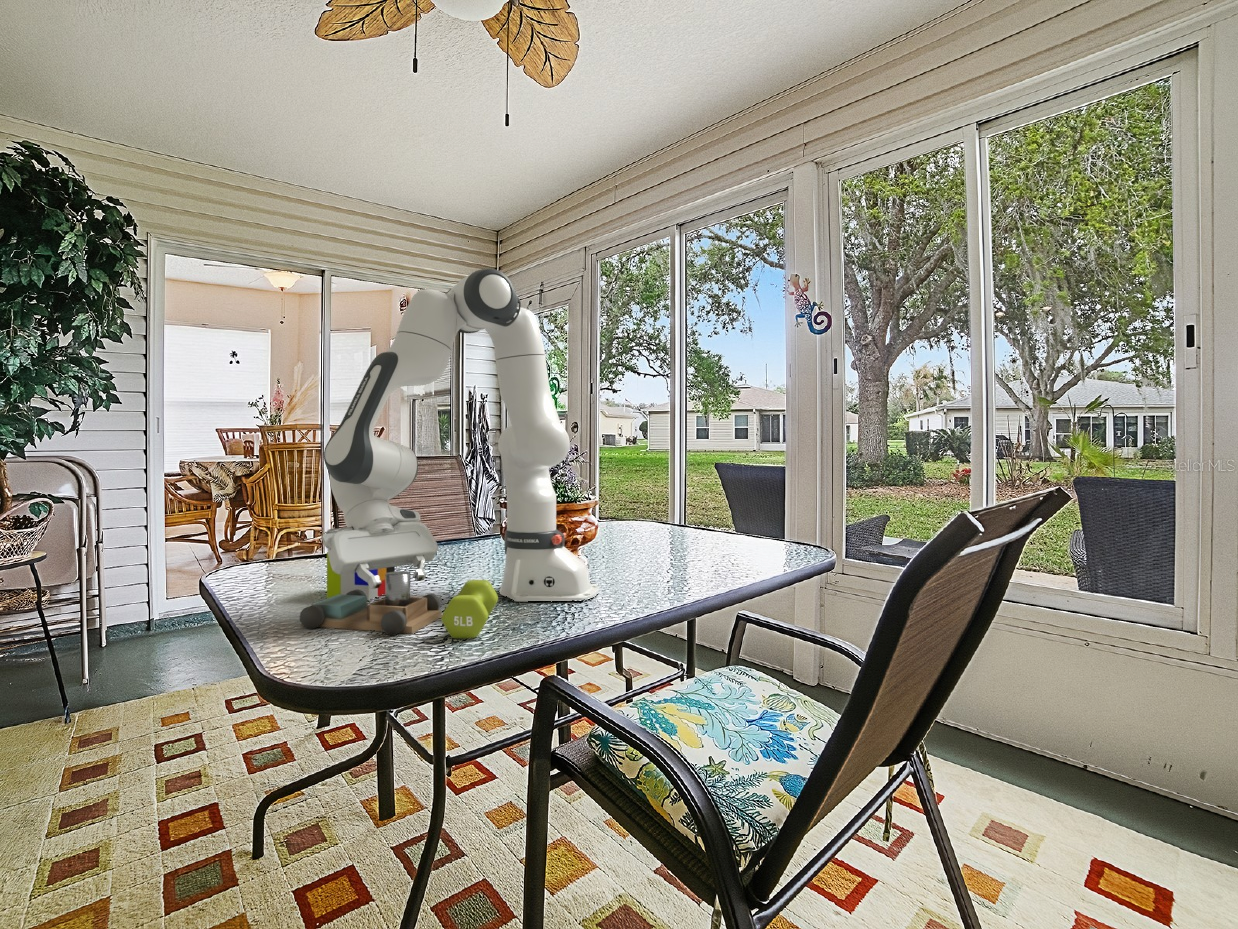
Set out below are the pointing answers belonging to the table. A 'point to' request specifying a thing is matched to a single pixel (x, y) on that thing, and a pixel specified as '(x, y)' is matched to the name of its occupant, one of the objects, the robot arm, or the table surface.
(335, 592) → the puzzle toy
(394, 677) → the table surface
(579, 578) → the robot arm
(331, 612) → the chassis
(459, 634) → the dumbbell
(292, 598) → the table surface
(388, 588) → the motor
